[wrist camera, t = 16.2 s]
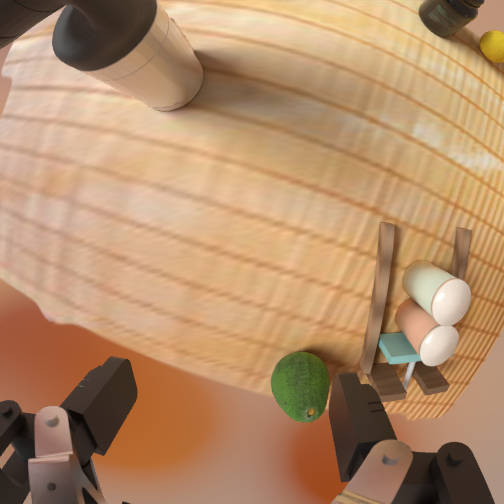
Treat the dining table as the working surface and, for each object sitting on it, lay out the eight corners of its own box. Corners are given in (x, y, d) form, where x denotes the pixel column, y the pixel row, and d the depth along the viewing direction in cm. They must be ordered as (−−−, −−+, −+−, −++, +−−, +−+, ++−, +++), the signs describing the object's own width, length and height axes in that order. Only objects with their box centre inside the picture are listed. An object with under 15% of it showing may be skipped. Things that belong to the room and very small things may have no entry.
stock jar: (397, 297, 38) (427, 328, 28) (430, 295, 37) (463, 324, 28) (391, 332, 39) (416, 369, 30) (422, 329, 39) (451, 362, 29)
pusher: (377, 334, 39) (391, 356, 33) (436, 329, 38) (454, 349, 32) (367, 377, 41) (377, 402, 35) (423, 371, 40) (438, 392, 34)
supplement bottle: (429, 0, 26) (460, -33, 14) (458, 29, 27) (495, 3, 15) (410, 12, 27) (442, -24, 16) (441, 43, 28) (481, 15, 16)
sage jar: (404, 259, 36) (439, 280, 27) (437, 259, 36) (475, 279, 27) (399, 298, 38) (429, 328, 28) (431, 296, 37) (464, 324, 28)
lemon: (477, 34, 26) (501, 19, 18) (497, 58, 27) (523, 47, 19) (468, 47, 27) (494, 32, 20) (489, 72, 28) (517, 61, 20)
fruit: (324, 378, 42) (335, 433, 30) (273, 383, 42) (272, 439, 31) (323, 336, 40) (338, 388, 28) (269, 342, 41) (266, 396, 29)
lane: (380, 222, 36) (405, 232, 28) (462, 227, 35) (494, 238, 27) (357, 371, 41) (370, 403, 33) (432, 362, 40) (452, 389, 32)
